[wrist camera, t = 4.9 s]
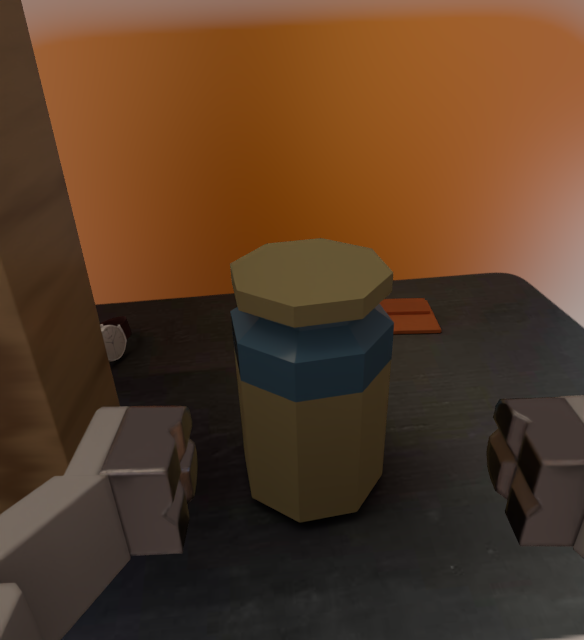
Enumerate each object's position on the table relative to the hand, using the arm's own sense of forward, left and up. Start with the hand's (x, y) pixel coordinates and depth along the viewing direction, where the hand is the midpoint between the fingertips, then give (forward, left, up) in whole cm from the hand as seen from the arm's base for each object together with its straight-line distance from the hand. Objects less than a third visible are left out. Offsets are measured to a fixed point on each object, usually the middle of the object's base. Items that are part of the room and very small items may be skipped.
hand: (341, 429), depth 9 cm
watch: (+19, -33, -20) cm, 43 cm away
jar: (0, -18, -20) cm, 27 cm away
